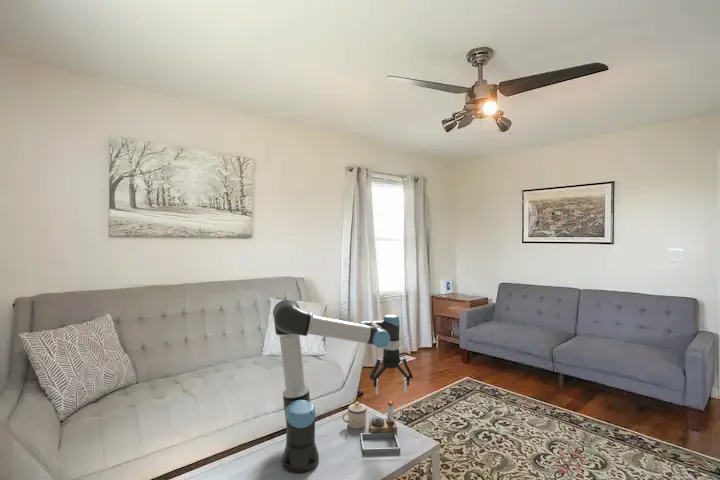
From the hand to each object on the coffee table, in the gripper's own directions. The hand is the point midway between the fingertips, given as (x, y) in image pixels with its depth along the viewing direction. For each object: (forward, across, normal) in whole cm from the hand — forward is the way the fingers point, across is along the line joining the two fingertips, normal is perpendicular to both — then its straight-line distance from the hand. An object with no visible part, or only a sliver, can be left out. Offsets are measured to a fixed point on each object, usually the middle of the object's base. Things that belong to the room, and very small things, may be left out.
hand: (391, 393), depth 185 cm
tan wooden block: (+19, -4, 0) cm, 20 cm away
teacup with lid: (+19, -17, +7) cm, 27 cm away
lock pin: (+18, 0, 0) cm, 18 cm away
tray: (+19, -7, -12) cm, 23 cm away
